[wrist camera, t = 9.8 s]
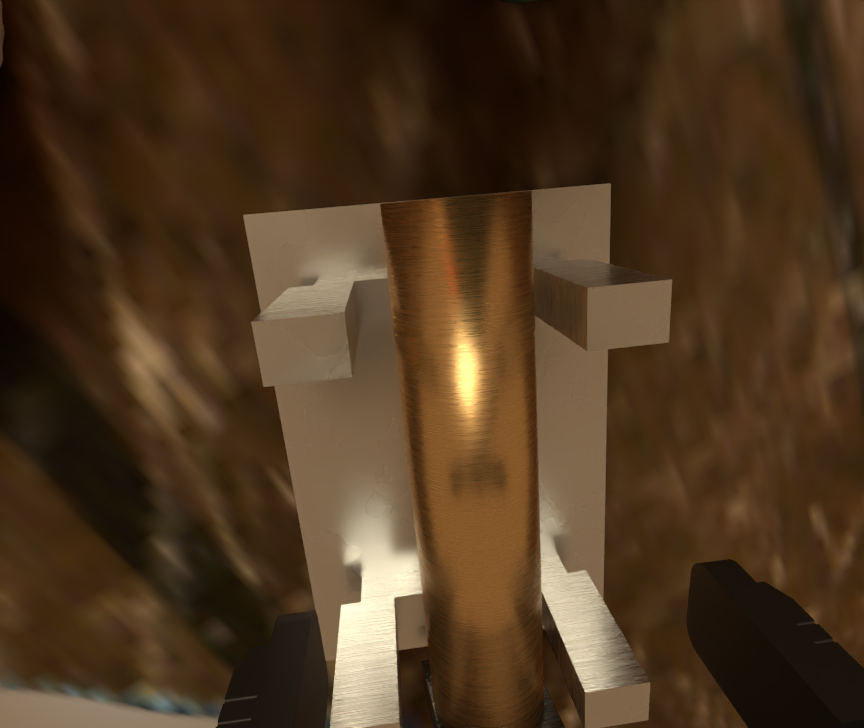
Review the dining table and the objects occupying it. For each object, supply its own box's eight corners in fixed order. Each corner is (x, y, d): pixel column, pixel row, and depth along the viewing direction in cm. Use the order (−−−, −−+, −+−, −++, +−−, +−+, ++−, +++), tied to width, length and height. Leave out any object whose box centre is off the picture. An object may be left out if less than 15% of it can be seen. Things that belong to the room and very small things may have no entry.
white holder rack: (248, 214, 17) (167, 219, 10) (600, 184, 18) (732, 170, 11) (326, 645, 22) (305, 830, 16) (595, 606, 23) (682, 766, 17)
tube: (370, 205, 15) (389, 202, 11) (502, 193, 16) (562, 187, 12) (425, 692, 21) (451, 801, 17) (521, 667, 22) (567, 766, 18)
